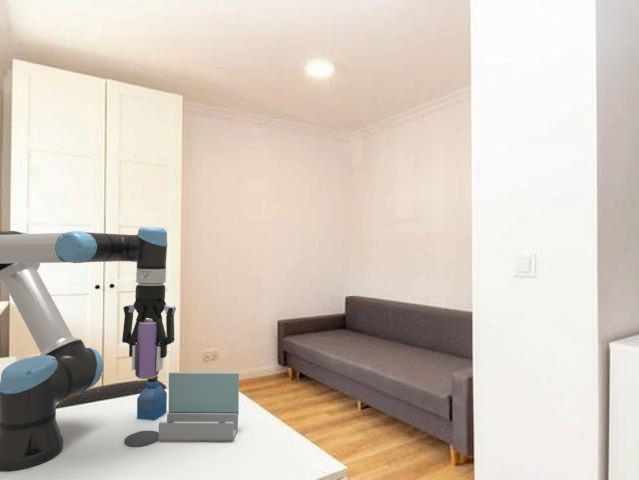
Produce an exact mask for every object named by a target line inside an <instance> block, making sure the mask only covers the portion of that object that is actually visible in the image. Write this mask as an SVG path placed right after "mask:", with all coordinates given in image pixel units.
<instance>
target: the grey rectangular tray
mask: <svg viewBox="0 0 639 480" xmlns="http://www.w3.org/2000/svg"><path fill="white" fill-rule="evenodd" d="M238 431H239V415H238V413H169V412H167V413H166V421H158V432H159V440H158V442H159V443H233V442H234V440H235V438H236V435H237V433H238Z"/></svg>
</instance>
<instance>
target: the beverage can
mask: <svg viewBox="0 0 639 480" xmlns="http://www.w3.org/2000/svg"><path fill="white" fill-rule="evenodd" d="M138 322H139V321H138ZM136 344H137V345H136V369H135V370H134V371H135V372H134V375H135V377H136V378H137V379H139V380H148V379H150V378H154V377H156V376H158V375H159V374H160V371H156V361H157V347H158V346H159V345H160V343H159V339H158V335H157V322H153V320H152V319H149V318H146V320H144V321H143V322H139V323H138V325H137V343H136Z"/></svg>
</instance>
